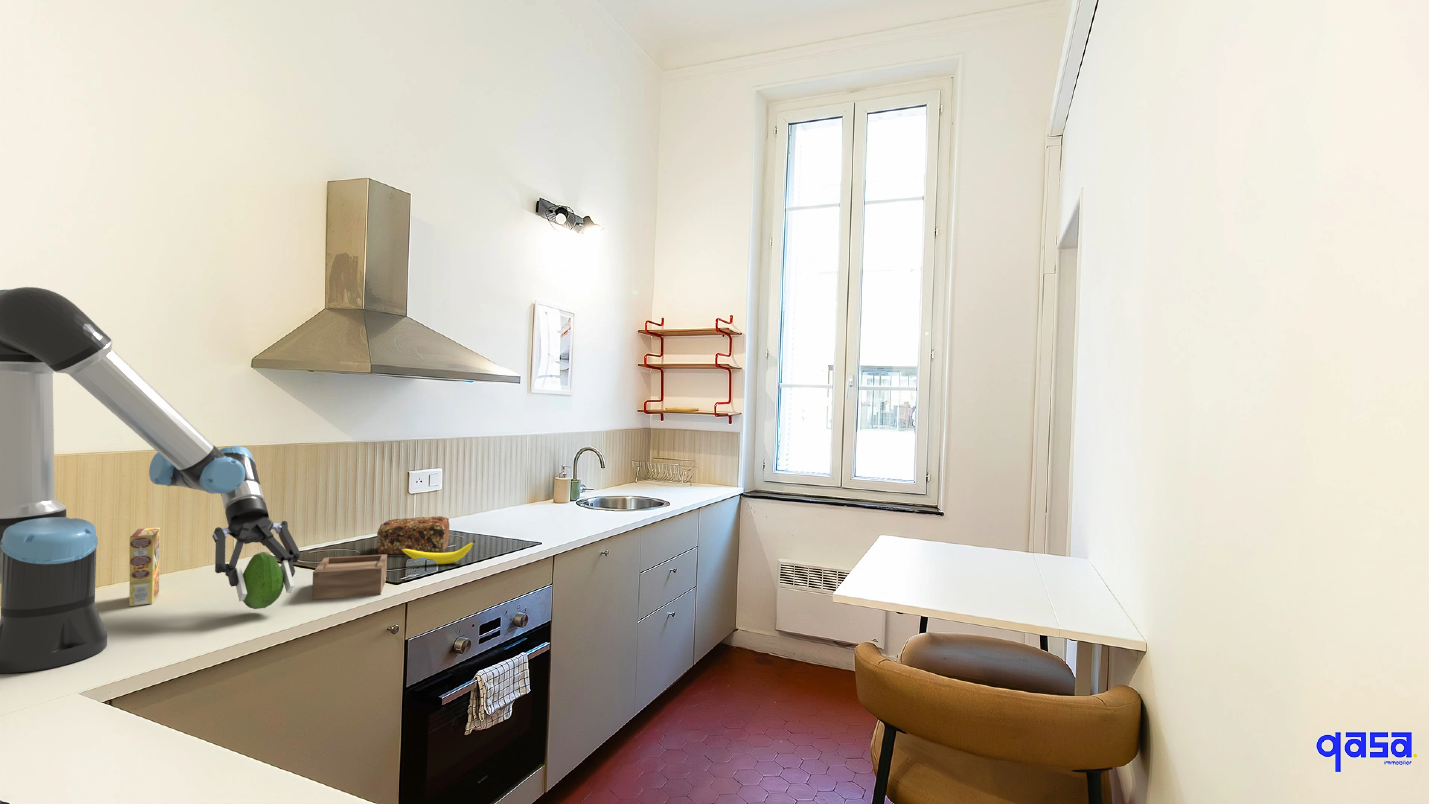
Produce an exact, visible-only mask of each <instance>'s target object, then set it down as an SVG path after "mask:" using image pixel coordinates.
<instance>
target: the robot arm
mask: <svg viewBox="0 0 1429 804" xmlns="http://www.w3.org/2000/svg"><path fill="white" fill-rule="evenodd" d="M54 373H59V374H66V375H68V376H70V377H71V378H72V379H73V380H74V381H75V382H77V383H78V385H80V386H81V387H82V388H84V389H85V390H86V391H87V392H89V394H91V395H92V396H93V397H94V398H95V399H96V400H97V401H99V402H100V403H101V404H102V405H103V406H104V407H105V408H107V410H109V411H110V412H111V413H112V414H113V415H115V416H116V417H117V418H118V420H120V421H121V422H122V423H123V424H125V425H126V426H127V427H128V428H130V429H131V430H132V431H133V432H134V433H135V434H137V435H138V436H139V437H140V438H141V439H142V440H143V441H145V442H146V443H147V445H149V446H150V447H152V448H153V449H154V450H155V451H156V453H154V456H153V457H152V458H151V461H150V464H149V469H148V470H149V471H148V476H149V480H150V481H151V483H152V484H155V485H158V486H159V485H160V486H166V487H182V488H188V489H192V490H198V491H203V492H206V493H209V494H220V496H221V499H222V505H223V508H224V512H225V517H226V521H227V527H224V528H223V527H219V526H218V527H217V526H216V528H214V531H213V534H212V539H213V541H214V543H215V551H214V552H215V553H214V554H215V556H214V557H215V558H214V560H215V562H214V565H215V566H214V572H215V573H216V574H221V573H224V575H225V577H227V578H228V582H229V586H230V587H232V588H233V587H235V588H236V593H237V597H238V601H239V602H243V601H244V599H245V597H246V595H247V590H246V586H245V582H244V578H243V573H244V572H243V570H242V566H237V564H238V561H239V558H240V556H241V552H242V550H243V546H244V545H248V544H251V543H260V544H261V545H263V546H265V547H266V548H267V549H268V550H269V552H271V554H273V555H272V556H273V557H274V558H275V557H276V558H275V559H276V560H278V561H279V562H280V563H281V565H279V566H280V568H281V571H282V574H283V576H284V588H285V592H286V594H291V593H292V591H293V589H294V587H295V583H294V579H293V577H294V575H295V573H296V569H295V565H294V563H297V562H298V560H299V559H300V557H301V552H300V550H299V548H298V547H299V546H297V544H296V542H295V540H294V538H293V535H292V534H291V533H290V530H289V525H288V523H289V522H288V521H286V520H283V521H281V522H280V523H279V522H273V520H272V519H271V518H270V515H269V511H268V508H267V503H266V502H265V496H264V493H263V490H262V485H261V482H260V479H259V474H258V470H257V465H256V464H257V463H256V461H255V459H254V457H253V455H252V453H251V451H250V450H249V449H248V448H246V447H244V446H242V445H233V446H230V447H229V446H227V447H222V448H221V449H219V448H218V447H216V445H214V444H213V443H212V442H211V441H210V440H209V439H208V438H207V437H206V436H205V435H204V434H203V433H201V431H199V430H198V428H196V427H195V426H194V425H193V424H192V423H191V422H190V421H189V420H188V419H187V418H186V417H184V415H183V414H182V413H180V411H178V410H177V408H175V407H174V406H173V405H172V404H171V403H170V402H169V401H168V400H167V399H165V397H164V396H162V395H161V394H160V393H159V392H158V390H156V389H155V388H154V387H153V386H152V385H151V384H150V383H149V382H147V381H146V380H145V379H144V378H143V376H141V375H140V374H139V373H138V372H137V371H136V370H135V369H134V368H133V367H132V366H131V365H129V364H128V362H127V361H125V360H124V359H123V358H122V357H121V356H120V355H119V354H118V353H117V351H115V350H114V349H113V339H111V337H110V336H109V335H108V334H107V333H105V332H104V331H103V330H102V329H101V328H100V327H99V326H98V324H96V323H95V322H94V321H93V320H92V319H91V317H89V316H88V315H87V314H86V313H85V312H83V310H81V309H80V308H79V307H78V305H76V304H75V303H74V302H72V301H71V300H69V299H68V298H67V297H65V296H63V295H61V294H59V293H57V292H56V291H52V290H50V289H46V288H42V287H34V286H23V287H15V288H12V289H11V288H10V289H0V586H1V590H0V674H12V673H13V674H16V673H28V672H34V671H40V670H46V669H51V668H57V667H60V666H64V665H68V664H72V663H75V662H78V661H82V660H86V659H88V658H90V657H93V656H95V655H97V654H99V653H100V652H102V651H104V650H105V649H107V646H108V633H107V630H106V627H105V625H104V622H103V621H102V618H101V616H100V614H99V612H98V609H97V607H96V578H97V577H96V574H97V573H96V571H97V570H96V569H97V547H98V544H99V543H98V542H99V541H98V536H97V528H96V526H95V525H94V524H93V523H92V522H90V521H88V520H86V519H82V518H77V517H75V518H74V517H73V518H70V517H67V506H66V505H65V504H64V503H62V502H60V501H58V500H57V498H56V489H55V488H56V487H55V486H56V485H55V481H56V480H55V479H56V478H55V476H56V475H55V437H54V436H55V435H54V432H55V429H54V427H55V426H54V380H53V378H54V376H53V375H54ZM272 530H274V531H275V533H276V534H277V535H278V539H280V542H281V543H282V544H281V543H280V542H279V541H278V540H277V539H276V537H274V534H273V532H272ZM227 536H231V537H232V538H234V539H235V540H236V543H235V545H234V548H233V551H232V555H231V557H230V560H229V562H228V563H226V538H227Z"/></svg>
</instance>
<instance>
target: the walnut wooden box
mask: <svg viewBox="0 0 1429 804" xmlns="http://www.w3.org/2000/svg"><path fill="white" fill-rule="evenodd" d="M387 575H388V554H371V555H370V554H369V555H350V556H349V555H348V556H330V557H324V558H322V561H320V563H319V564H318V565H317V567H316V568H315V569H314V570H313V571H312V589H311V590H312V593H311V594H312V597H311V598H312V600H324V599H325V600H326V599H336V598H349V597H350V598H351V597H353V598H354V597H365V596H379V595H381V594H382V592H383V589H384V587H385V585H386V581H387V579H386V577H388V576H387Z"/></svg>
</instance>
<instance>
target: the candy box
mask: <svg viewBox="0 0 1429 804" xmlns="http://www.w3.org/2000/svg"><path fill="white" fill-rule="evenodd" d="M160 529H161V527H148V528H138V529H137V530H136V531H134V533H133V534H132V535H130V536H129V595H128V596H129V601H128V602H129V604H128V606H129V607H135V606H143V605H152V604H153V603H154V602H155V600H156V598H157V596H158V595H159V594H160V541H161V540H160V536H161V535H160V533H161V532H160V531H161V530H160Z"/></svg>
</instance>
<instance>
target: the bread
mask: <svg viewBox="0 0 1429 804" xmlns="http://www.w3.org/2000/svg"><path fill="white" fill-rule="evenodd" d="M377 529H378V531H377V534H376V535H377V536H376V541H377V547H376V548H377V552H378V555H384V554H387V555H404V554H405V553H404V552H403V551H402V549H410V550H416V551H421V552H429V553H443V552H445V550H446V549H448V548H447V547H448V546H449V538H450V521H449V518H448V517H445V516H441V515H440V516H437V515H436V516H418V517H412V518H410V517H409V518H394V519H388V520H386V521H385V522H384V523H381V524H380V526H379V528H377ZM405 555H406V554H405Z"/></svg>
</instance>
